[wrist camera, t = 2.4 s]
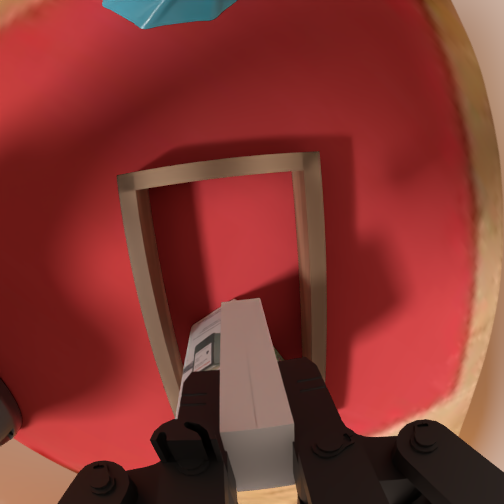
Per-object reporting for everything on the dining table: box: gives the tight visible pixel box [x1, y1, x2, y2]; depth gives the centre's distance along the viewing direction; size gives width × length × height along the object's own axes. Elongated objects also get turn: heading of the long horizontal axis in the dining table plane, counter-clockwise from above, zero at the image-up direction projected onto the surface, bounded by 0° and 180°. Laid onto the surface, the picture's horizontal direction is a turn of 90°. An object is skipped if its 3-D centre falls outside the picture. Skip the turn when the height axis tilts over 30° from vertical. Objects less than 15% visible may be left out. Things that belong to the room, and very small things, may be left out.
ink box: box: [175, 299, 284, 419], centre depth 20 cm, size 9×5×12 cm, turn 34°
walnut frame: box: [117, 151, 327, 417], centre depth 24 cm, size 13×27×4 cm, turn 6°
